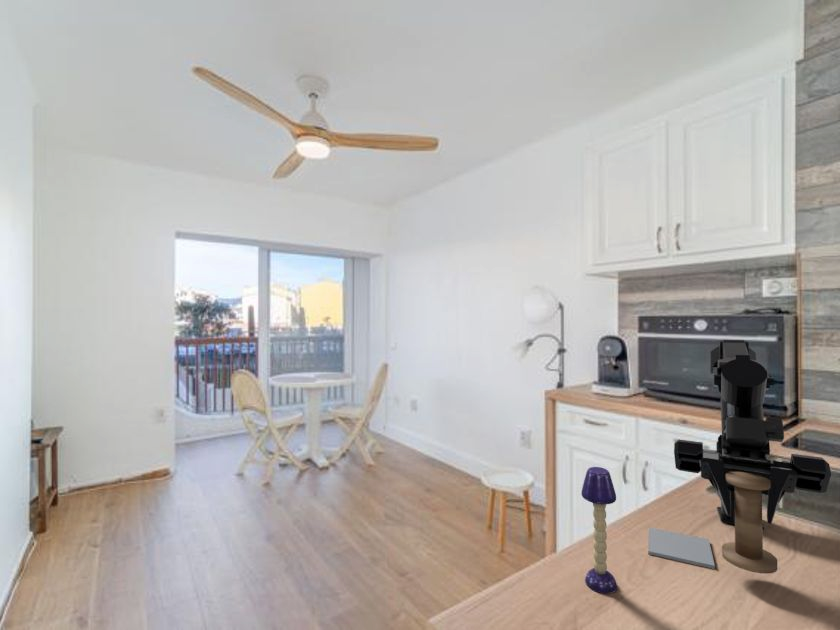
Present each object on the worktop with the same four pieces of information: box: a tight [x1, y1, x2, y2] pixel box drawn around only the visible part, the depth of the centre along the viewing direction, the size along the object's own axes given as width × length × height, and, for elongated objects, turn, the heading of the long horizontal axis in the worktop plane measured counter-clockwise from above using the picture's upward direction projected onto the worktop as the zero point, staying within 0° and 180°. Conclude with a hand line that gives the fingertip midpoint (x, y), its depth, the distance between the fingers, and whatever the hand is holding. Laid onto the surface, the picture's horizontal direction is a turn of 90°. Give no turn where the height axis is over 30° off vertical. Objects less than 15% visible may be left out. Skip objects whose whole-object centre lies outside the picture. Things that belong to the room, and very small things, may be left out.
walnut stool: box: [721, 472, 778, 575], centre depth 63 cm, size 6×6×12 cm
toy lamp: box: [581, 466, 618, 594], centre depth 62 cm, size 5×5×17 cm
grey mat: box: [647, 527, 716, 570], centre depth 72 cm, size 9×9×1 cm
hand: (748, 518), depth 62 cm, fingers closed on walnut stool, 4 cm apart
